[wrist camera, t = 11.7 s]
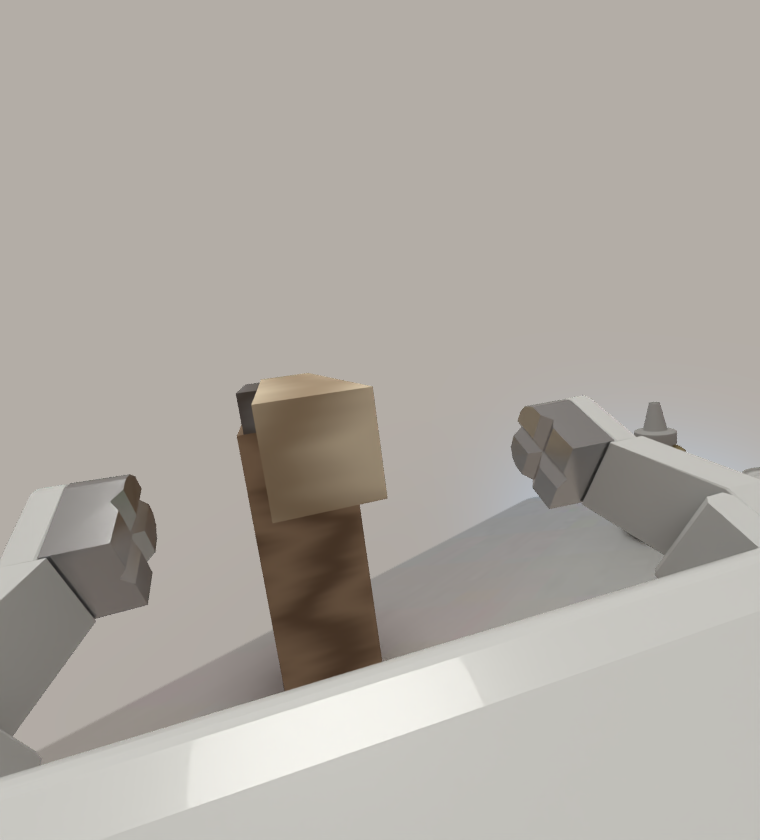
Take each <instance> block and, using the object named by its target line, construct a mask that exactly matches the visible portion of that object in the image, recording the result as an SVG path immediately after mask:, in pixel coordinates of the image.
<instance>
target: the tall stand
mask: <svg viewBox="0 0 760 840" xmlns="http://www.w3.org/2000/svg"><path fill="white" fill-rule="evenodd" d="M258 386H259V383H254V384H247V385H245V386H244V387H242V388H241V389H240V390H239V391H238V392H237V393H236V397H237V402H238V407H239V413H240V418H241V424H242V425H241V428H240V430H239V432H238V435H237V439H238V444H239V450H240V455H241V460H242V465H243V471H244V476H245V481H246V487H247V492H248V498H249V503H250V508H251V514H252V519H253V524H254V530H255V535H256V540H257V546H258V550H259V556H260V562H261V567H262V572H263V577H264V583H265V588H266V594H267V599H268V604H269V609H270V615H271V620H272V625H273V631H274V636H275V642H276V647H277V652H278V658H279V663H280V668H281V674H282V679H283V684H284V690H285V691H287V690H291V689H294V688H297V687H301V686H304V685H307V684H311V683H314V682H317V681H320V680H324V679H327V678H330V677H334V676H337V675H340V674H344V673H347V672H350V671H353V670H357V669H360V668H363V667H367V666H370V665H373V664H377V663H380V662H382V657H381V650H380V643H379V636H378V629H377V623H376V616H375V609H374V602H373V595H372V588H371V581H370V574H369V567H368V560H367V553H366V547H365V539H364V532H363V525H362V518H361V512H360V505H355V506H350V507H346V508H341V509H337V510H332V511H327V512H323V513H318V514H314V515H309V516H304V517H300V518H295V519H290V520H286V521H281V522H277V523H272V517H271V511H270V506H269V500H268V495H267V489H266V484H265V478H264V473H263V467H262V461H261V456H260V450H259V445H258V439H257V434H256V428H255V422H254V417H253V411H252V406H251V404H252V402H253V399H254V397H255V394H256V392H257V389H258Z"/></svg>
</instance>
